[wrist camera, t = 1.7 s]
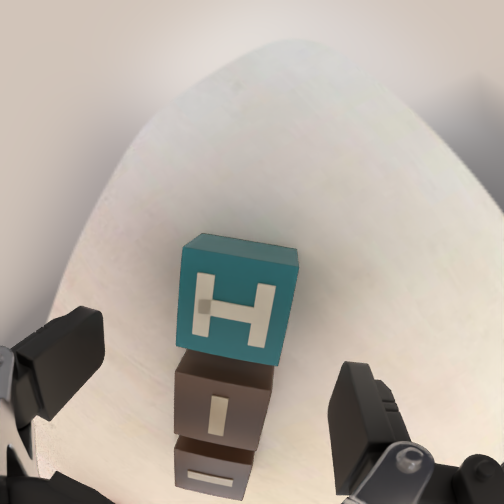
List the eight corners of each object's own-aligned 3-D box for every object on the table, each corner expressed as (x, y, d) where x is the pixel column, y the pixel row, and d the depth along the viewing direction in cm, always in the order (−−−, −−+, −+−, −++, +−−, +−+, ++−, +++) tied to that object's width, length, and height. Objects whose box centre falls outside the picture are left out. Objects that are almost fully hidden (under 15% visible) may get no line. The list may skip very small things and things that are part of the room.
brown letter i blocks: (191, 340, 17) (173, 372, 14) (275, 357, 17) (271, 392, 14) (185, 457, 20) (174, 487, 16) (247, 470, 19) (242, 502, 16)
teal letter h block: (201, 232, 15) (181, 247, 12) (297, 249, 15) (299, 267, 12) (193, 318, 16) (174, 347, 14) (280, 334, 16) (277, 368, 13)
